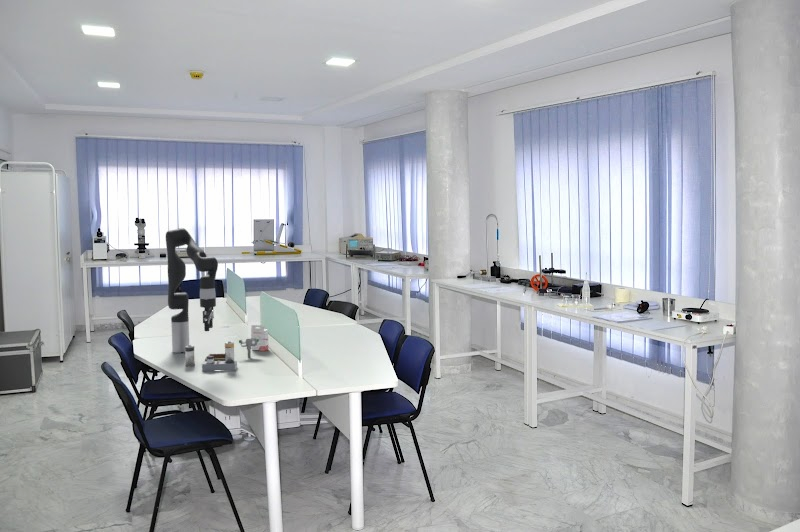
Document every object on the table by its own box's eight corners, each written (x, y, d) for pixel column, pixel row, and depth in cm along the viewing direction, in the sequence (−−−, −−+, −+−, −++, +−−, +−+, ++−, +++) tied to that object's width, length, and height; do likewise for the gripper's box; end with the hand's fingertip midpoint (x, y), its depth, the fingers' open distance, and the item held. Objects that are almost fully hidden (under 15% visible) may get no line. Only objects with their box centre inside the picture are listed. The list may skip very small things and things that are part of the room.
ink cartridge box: (268, 349, 365) (268, 324, 364) (265, 351, 360) (264, 325, 359) (255, 348, 367) (254, 323, 366) (251, 350, 362) (250, 325, 361)
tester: (204, 368, 323) (204, 360, 323) (236, 367, 325) (236, 359, 325) (202, 371, 317) (202, 363, 317) (235, 370, 319) (235, 362, 319)
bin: (209, 360, 339) (209, 354, 339) (231, 359, 340) (231, 353, 340) (205, 365, 328) (204, 359, 328) (227, 365, 329) (227, 358, 329)
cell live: (225, 361, 323) (225, 340, 322) (235, 361, 324) (234, 340, 323) (224, 363, 319) (224, 342, 318) (233, 363, 319) (233, 342, 318)
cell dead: (186, 364, 331) (186, 344, 330) (195, 364, 331) (195, 344, 330) (184, 366, 326) (184, 346, 325) (193, 366, 327) (193, 346, 326)
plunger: (207, 366, 322) (207, 355, 322) (215, 366, 323) (214, 355, 322) (205, 368, 318) (205, 357, 318) (213, 368, 319) (213, 357, 318)
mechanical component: (239, 357, 346) (238, 339, 345) (258, 355, 350) (258, 337, 349) (239, 358, 343) (239, 340, 342) (259, 357, 347) (258, 339, 346)
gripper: (203, 295, 324) (203, 327, 325) (196, 299, 309) (197, 332, 311) (218, 295, 324) (219, 326, 326) (212, 299, 310) (213, 332, 312)
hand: (208, 329), depth 318 cm, fingers open, 8 cm apart
